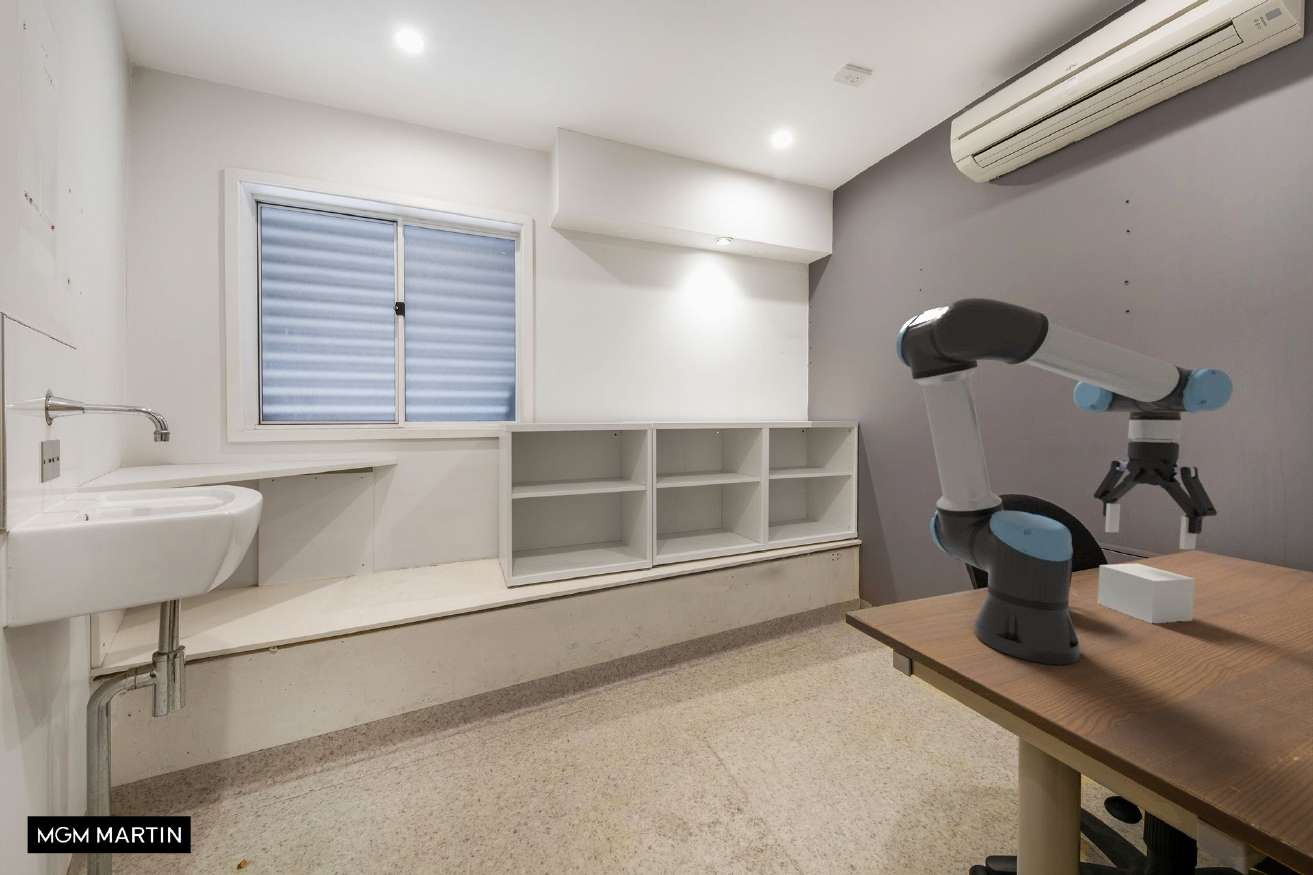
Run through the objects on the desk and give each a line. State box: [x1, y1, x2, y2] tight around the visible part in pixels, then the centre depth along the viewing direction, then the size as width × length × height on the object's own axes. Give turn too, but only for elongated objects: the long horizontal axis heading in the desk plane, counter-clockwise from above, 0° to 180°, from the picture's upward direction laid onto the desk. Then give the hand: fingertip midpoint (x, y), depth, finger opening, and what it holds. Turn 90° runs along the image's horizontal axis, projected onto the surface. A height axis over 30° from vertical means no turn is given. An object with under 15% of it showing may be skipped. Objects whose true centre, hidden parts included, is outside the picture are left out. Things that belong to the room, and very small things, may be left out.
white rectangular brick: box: [1097, 562, 1196, 625], centre depth 102 cm, size 10×10×9 cm
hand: (1147, 539), depth 101 cm, fingers open, 13 cm apart
